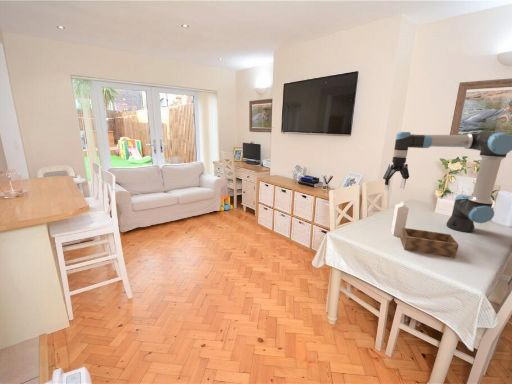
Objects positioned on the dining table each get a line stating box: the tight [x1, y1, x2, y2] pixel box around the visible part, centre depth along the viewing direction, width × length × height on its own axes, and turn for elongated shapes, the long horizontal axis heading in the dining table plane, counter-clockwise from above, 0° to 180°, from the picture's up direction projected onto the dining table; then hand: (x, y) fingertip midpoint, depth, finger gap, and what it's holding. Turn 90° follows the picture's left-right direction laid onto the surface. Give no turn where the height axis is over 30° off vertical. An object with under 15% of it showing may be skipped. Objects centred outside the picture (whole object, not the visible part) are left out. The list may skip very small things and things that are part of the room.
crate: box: [400, 227, 460, 259], centre depth 144 cm, size 24×14×8 cm, turn 68°
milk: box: [390, 200, 409, 237], centre depth 160 cm, size 6×6×22 cm
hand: (394, 189), depth 167 cm, fingers open, 13 cm apart
